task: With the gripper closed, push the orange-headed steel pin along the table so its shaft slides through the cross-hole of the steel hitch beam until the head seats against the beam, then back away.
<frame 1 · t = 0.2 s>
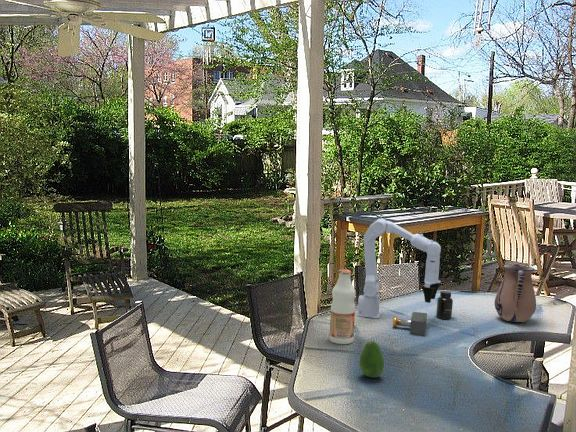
hand: (429, 300, 261), 10 cm above the table, tool pointing down, fingers open, 7 cm apart
avocado: (370, 377, 197), on the table
supplement bottle: (443, 318, 271), on the table
ceramic pitcher: (514, 321, 270), on the table
lynch pin: (408, 323, 251), point 3 cm above the table, slide at 0.0 cm
hitch beam: (418, 330, 251), on the table
fruit juice: (341, 341, 233), on the table
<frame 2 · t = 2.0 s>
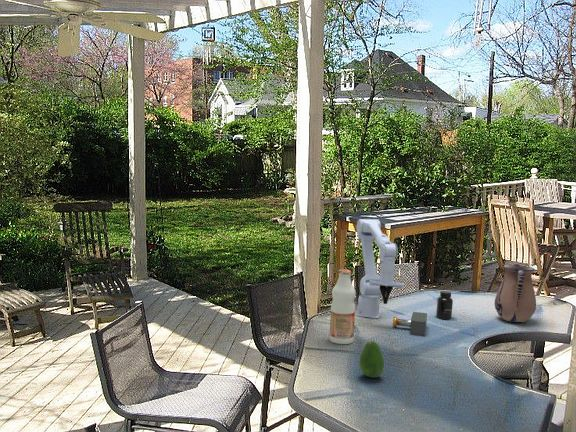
hand: (385, 303, 253), 10 cm above the table, tool pointing down, fingers closed
nothing on the table moved.
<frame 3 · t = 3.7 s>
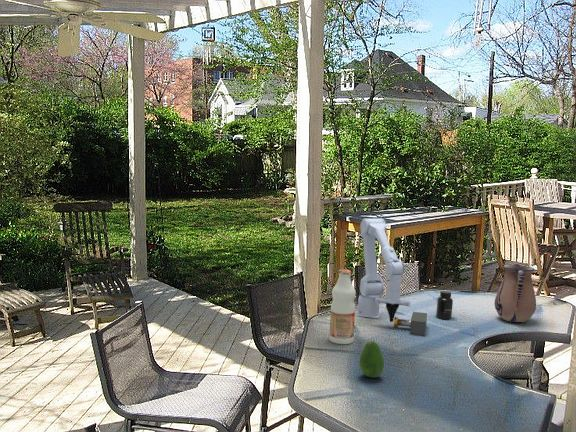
hand: (391, 321, 253), 3 cm above the table, tool pointing down, fingers closed
lynch pin: (409, 323, 251), point 3 cm above the table, slide at 0.4 cm, touching gripper
everything else where it was.
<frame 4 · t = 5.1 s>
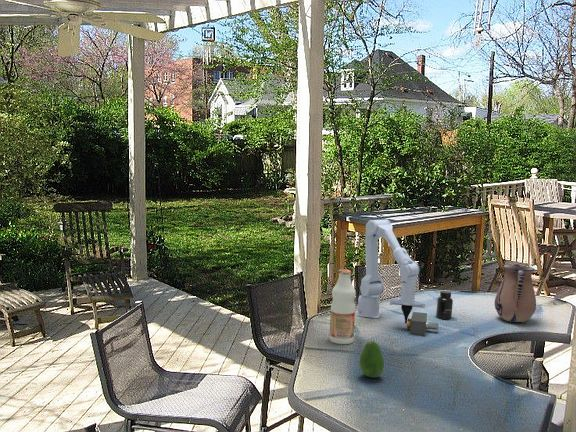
hand: (406, 322, 252), 3 cm above the table, tool pointing down, fingers closed
lynch pin: (422, 324, 250), point 3 cm above the table, slide at 6.0 cm, touching gripper, hitch beam
everything else where it was.
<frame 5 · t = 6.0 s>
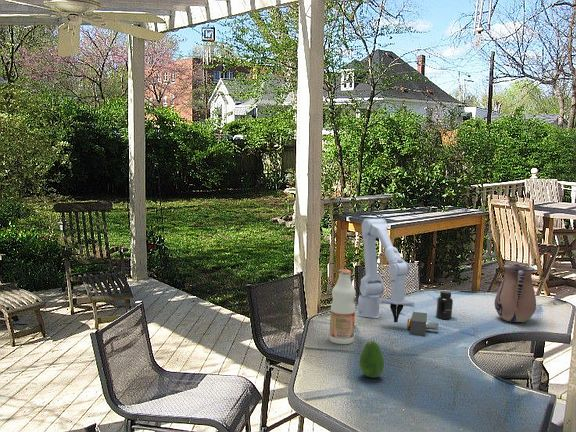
hand: (395, 321, 253), 3 cm above the table, tool pointing down, fingers closed
lynch pin: (422, 324, 250), point 3 cm above the table, slide at 6.0 cm, touching hitch beam
everything else where it was.
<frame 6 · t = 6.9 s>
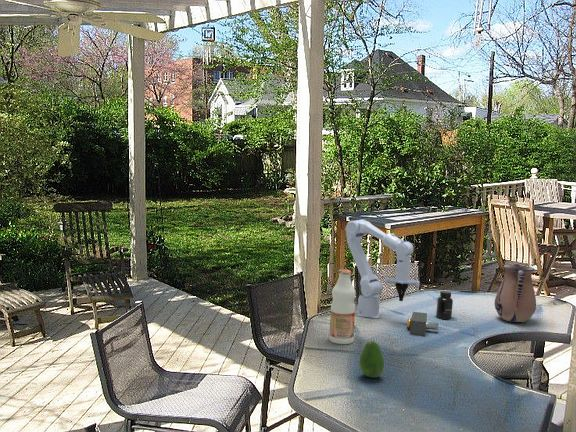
hand: (401, 300, 259), 10 cm above the table, tool pointing down, fingers closed
nothing on the table moved.
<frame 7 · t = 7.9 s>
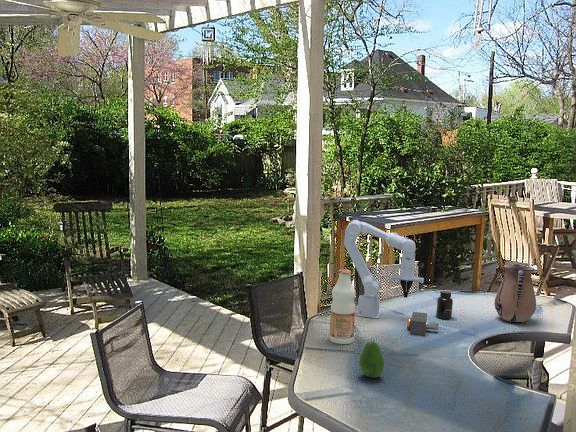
hand: (405, 297, 266), 10 cm above the table, tool pointing down, fingers closed
nothing on the table moved.
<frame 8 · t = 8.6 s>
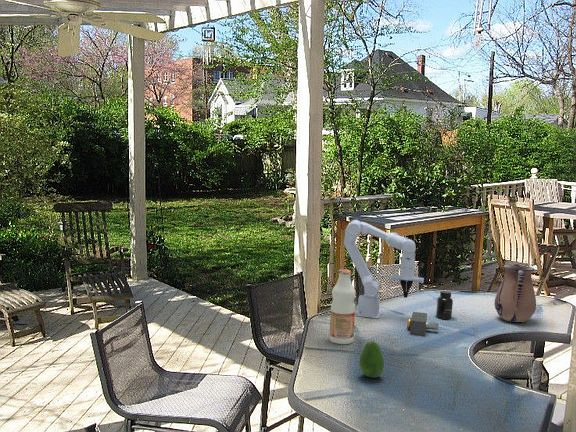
hand: (405, 297, 266), 10 cm above the table, tool pointing down, fingers closed
nothing on the table moved.
at the end: lynch pin slide at 6.0 cm; the gripper is holding nothing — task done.
